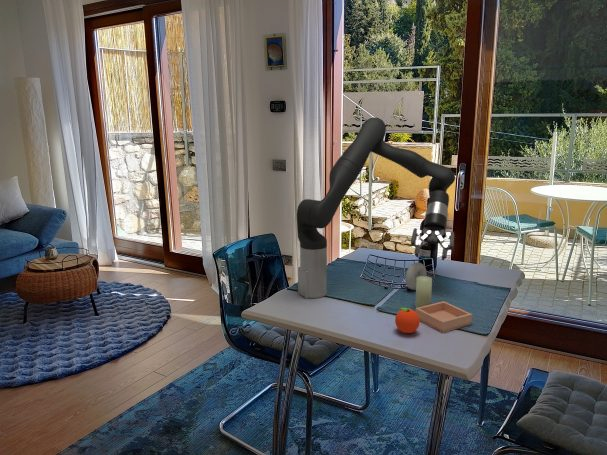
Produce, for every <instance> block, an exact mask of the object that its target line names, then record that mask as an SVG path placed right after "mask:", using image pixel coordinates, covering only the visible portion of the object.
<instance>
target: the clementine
mask: <svg viewBox="0 0 607 455" xmlns="http://www.w3.org/2000/svg"><path fill="white" fill-rule="evenodd" d="M399 309H401V310H399ZM395 312H396V315H395V319H394V322H395V323H394V324H395V326H396V328H397V329H398V330H399V332H401V333H404V334H411V333H414V332H416V331H417V330H418V329H419V326H420V323H421V321H420V319H419V316H418V314H417V313H416V312H415V310H413V309H412V308H407V307H401V308H397V309H396V311H395Z"/></svg>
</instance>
